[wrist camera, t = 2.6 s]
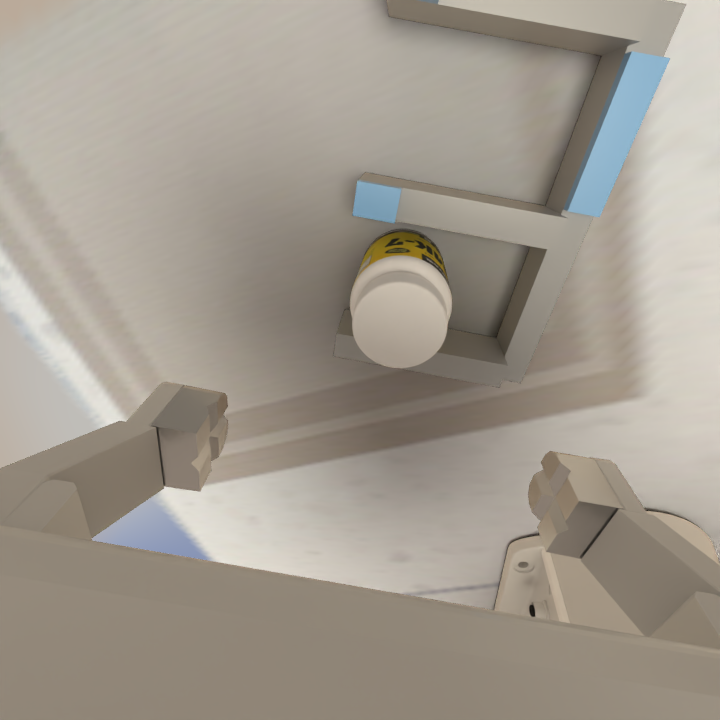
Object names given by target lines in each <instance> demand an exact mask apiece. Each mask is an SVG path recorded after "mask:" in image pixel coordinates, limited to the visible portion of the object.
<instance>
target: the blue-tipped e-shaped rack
mask: <svg viewBox="0 0 720 720" xmlns="http://www.w3.org/2000/svg"><path fill="white" fill-rule="evenodd" d="M386 1H387V7H388V13H389V17H393V18H398V19H404V20H409V21H415V22H420V23H426V24H431V25H437V26H442V27H448V28H453V29H458V30H464V31H469V32H475V33H480V34H486V35H491V36H497V37H502V38H507V39H513V40H518V41H524V42H529V43H535V44H540V45H546V46H551V47H557V48H562V49H567V50H573V51H578V52H584V53H589V54H595V55H600V56H601V59H600V62H599V64H598V67H597V70H596V72H595V75H594V78H593V80H592V83H591V86H590V88H589V91H588V94H587V96H586V99H585V102H584V104H583V107H582V110H581V112H580V115H579V118H578V121H577V123H576V126H575V129H574V131H573V134H572V137H571V139H570V142H569V145H568V147H567V150H566V153H565V155H564V158H563V161H562V163H561V166H560V169H559V171H558V174H557V177H556V179H555V182H554V185H553V187H552V190H551V193H550V196H549V198H548V201H547V204H546V206H544V205H538V204H533V203H527V202H522V201H517V200H511V199H506V198H501V197H495V196H490V195H484V194H479V193H474V192H468V191H463V190H458V189H452V188H447V187H442V186H436V185H431V184H425V183H420V182H415V181H409V180H404V179H399V178H393V177H388V176H382V175H377V174H372V173H366V172H365V173H364V174H363V175H362V177H361V178H360V179H359V180H358V181H357V187H356V194H355V201H354V208H353V215H352V216H357V217H363V218H368V219H373V220H379V221H384V222H389V223H395V221H398V222H403V223H409V224H414V225H419V226H425V227H430V228H436V229H441V230H446V231H452V232H457V233H462V234H468V235H473V236H478V237H484V238H489V239H494V240H500V241H505V242H510V243H516V244H521V245H526V246H530V249H529V252H528V254H527V257H526V260H525V263H524V265H523V268H522V271H521V273H520V276H519V279H518V281H517V284H516V287H515V289H514V292H513V295H512V297H511V300H510V303H509V305H508V308H507V311H506V313H505V316H504V319H503V321H502V324H501V327H500V329H499V332H498V335H497V338H495V337H489V336H484V335H479V334H474V333H468V332H463V331H458V330H452V329H447V333H446V337H445V340H444V342H443V344H442V346H441V347H440V349H439V350H438V351H437V352H436V354H434V355H433V356H432V357H431V358H430V359H428V360H427V361H425V362H423V363H421V364H419V365H416V366H412V367H408V368H397V369H403V370H408V371H413V372H419V373H424V374H429V375H434V376H440V377H445V378H450V379H455V380H461V381H466V382H471V383H477V384H482V385H487V386H492V387H498V388H500V385H501V383H502V380H506V381H512V382H517V383H521V382H522V380H523V377H524V375H525V373H526V371H527V368H528V366H529V364H530V361H531V359H532V357H533V354H534V352H535V350H536V348H537V345H538V343H539V341H540V338H541V336H542V334H543V332H544V329H545V327H546V325H547V322H548V320H549V318H550V316H551V313H552V311H553V309H554V306H555V304H556V302H557V299H558V297H559V295H560V293H561V290H562V288H563V286H564V283H565V281H566V279H567V277H568V274H569V272H570V270H571V267H572V265H573V263H574V261H575V258H576V256H577V254H578V251H579V249H580V247H581V244H582V242H583V240H584V238H585V235H586V233H587V231H588V228H589V226H590V224H591V222H592V219H593V217H594V216H595V217H600V215H601V213H602V211H603V208H604V206H605V204H606V202H607V199H608V197H609V195H610V193H611V190H612V188H613V186H614V184H615V181H616V179H617V177H618V175H619V172H620V170H621V168H622V166H623V163H624V161H625V159H626V157H627V154H628V152H629V150H630V148H631V145H632V143H633V141H634V139H635V136H636V134H637V132H638V130H639V127H640V125H641V123H642V121H643V118H644V116H645V114H646V112H647V109H648V107H649V105H650V103H651V100H652V98H653V96H654V94H655V91H656V89H657V87H658V85H659V82H660V80H661V78H662V76H663V73H664V71H665V69H666V67H667V64H668V62H669V60H670V58H666V57H664V54H665V52H666V50H667V47H668V45H669V43H670V40H671V38H672V36H673V34H674V31H675V29H676V27H677V24H678V22H679V20H680V18H681V15H682V13H683V11H684V8H685V6H686V4H683V3H678V2H672V1H667V0H386ZM333 356H334V357H339V358H345V359H350V360H355V361H361V362H366V363H371V364H376V365H381V364H378V363H376V362H374V361H373V360H371V359H370V358H368V357H367V356H366V355H365V354H364V353H363V352H362V351H361V349H360V348H359V346H358V345H357V343H356V341H355V338H354V335H353V330H352V315H351V310H346V309H345V310H344V313H343V316H342V319H341V321H340V324H339V327H338V330H337V333H336V340H335V347H334V353H333ZM382 366H383V365H382Z"/></svg>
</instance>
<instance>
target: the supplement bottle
mask: <svg viewBox="0 0 720 720" xmlns="http://www.w3.org/2000/svg"><path fill="white" fill-rule="evenodd" d="M350 310H351V315H352V330H353V335H354V338H355V341H356V343H357V345H358V346H359V348H360V349H361V351H362V352H363V353H364V354H365V355H366V356H367V357H368V358H370V359H371V360H373V361H374V362H376V363H378V364H381V365H383V366H387V367H391V368H408V367H412V366H416V365H419V364H421V363H423V362H425V361H427V360H428V359H430V358H431V357H432V356H433V355H434V354H436V352H437V351H438V350H439V349H440V347H441V346H442V344H443V342H444V340H445V337H446V333H447V326H448V321H449V319H450V315H451V311H452V295H451V290H450V286H449V283H448V279H447V274H446V271H445V267H444V262H443V259H442V256H441V254H440V251H439V249H438V248H437V246H436V245H435V244H434V242H433V241H432V240H431V239H429V238H428V237H427V236H425V235H423V234H421V233H419V232H416V231H413V230H406V229H399V230H393V231H390V232H387V233H385V234H383V235H381V236H380V237H378V238H377V239H376V240H375V241H374V242H373V243H372V244H371V245H370V247H369V248H368V250H367V251H366V253H365V256H364V258H363V261H362V264H361V266H360V269H359V272H358V274H357V277H356V280H355V282H354V285H353V288H352V291H351V296H350Z"/></svg>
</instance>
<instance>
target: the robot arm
mask: <svg viewBox="0 0 720 720" xmlns="http://www.w3.org/2000/svg"><path fill="white" fill-rule="evenodd" d="M227 407H228V402H227V395H226V394H225V393H222V392H217V391H212V390H207V389H202V388H197V387H192V386H187V385H186V386H185V385H181V384H176V383H171V382H164V383H161V384H160V385H159V386H158V387H157V388H156V389H155V391H154V392H153V393H152V394H151V395H150V396H149V397H148V398H147V399H146V400H145V401H144V403H143V404H142V405H141V406H140V407H139V408H138V409H137V410H136V411H135V412H134V414H133V415H132V416H131V417H130V418H129V419H128V420H127V421H126V422H123V421H118V422H116V423H113V424H110V425H108V426H105V427H103V428H100V429H98V430H95V431H93V432H90V433H88V434H85V435H83V436H80V437H78V438H75V439H73V440H70V441H68V442H65V443H63V444H60V445H58V446H55V447H53V448H50V449H48V450H45V451H42V452H40V453H37V454H35V455H32V456H30V457H27V458H25V459H23V460H20V461H17V462H15V463H12V464H10V465H7V466H5V467H2V468H1V469H0V720H720V562H719V560H718V557H717V554H716V552H715V549H714V546H713V543H712V541H711V540H710V538H709V537H708V535H707V534H706V533H705V532H704V531H703V530H702V529H700V528H699V527H698V526H696V525H695V524H693V523H691V522H689V521H687V520H685V519H682V518H679V517H677V516H673V515H670V514H665V513H660V512H652V511H645V509H644V508H643V506H642V504H641V503H640V501H639V500H638V498H637V497H636V495H635V494H634V492H633V490H632V489H631V487H630V486H629V484H628V483H627V481H626V479H625V478H624V476H623V475H622V473H621V472H620V470H619V469H618V467H617V465H616V464H614V463H613V462H612V461H610V460H604V459H597V458H591V457H590V458H587V457H582V456H576V455H570V454H564V453H558V452H553V451H549V452H548V453H547V454H546V455H545V456H544V458H543V460H542V461H541V464H542V466H543V469H544V470H542V471H540V472H538V473H536V474H535V475H534V476H533V478H532V480H531V482H530V485H529V492H528V498H529V505H530V508H531V511H532V513H533V514H534V515H535V516H536V517H537V518H538V519H539V520H540V523H539V525H538V527H537V528H538V531H539V534H540V535H538V536H532V537H527V538H523V539H519V540H516V541H514V542H512V543H511V544H510V545H509V547H508V551H507V555H506V559H505V564H504V568H503V573H502V577H501V581H500V586H499V590H498V594H497V599H496V603H495V608H494V610H491V609H485V608H479V607H473V606H467V605H461V604H456V603H450V602H444V601H438V600H433V599H427V598H421V597H415V596H409V595H404V594H398V593H392V592H386V591H381V590H375V589H369V588H363V587H357V586H352V585H346V584H340V583H334V582H329V581H323V580H317V579H311V578H305V577H300V576H294V575H288V574H282V573H276V572H271V571H265V570H259V569H253V568H247V567H242V566H236V565H230V564H224V563H218V562H213V561H207V560H201V559H195V558H189V557H184V556H178V555H172V554H166V553H161V552H155V551H149V550H143V549H137V548H131V547H126V546H120V545H114V544H108V543H103V542H96V541H92V538H93V537H94V536H96V535H97V534H98V533H100V532H101V531H103V530H104V529H106V528H107V527H109V526H110V525H111V524H113V523H114V522H116V521H117V520H119V519H120V518H122V517H123V516H124V515H126V514H127V513H129V512H130V511H132V510H133V509H134V508H136V507H137V506H139V505H140V504H142V503H143V502H145V501H146V500H148V499H149V498H151V497H152V496H153V495H155V494H156V493H158V492H159V491H161V490H162V489H164V486H166V487H173V488H180V489H186V490H193V491H201V489H202V487H203V485H204V484H205V482H206V480H207V478H208V476H209V474H210V472H211V471H212V466H211V461H212V460H214V459H216V458H218V457H219V456H220V454H221V452H222V450H223V447H224V444H225V441H226V438H227V431H228V420H227V419H226V417H225V416H224V415H223V414H224V412H225V410H226V409H227Z"/></svg>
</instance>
